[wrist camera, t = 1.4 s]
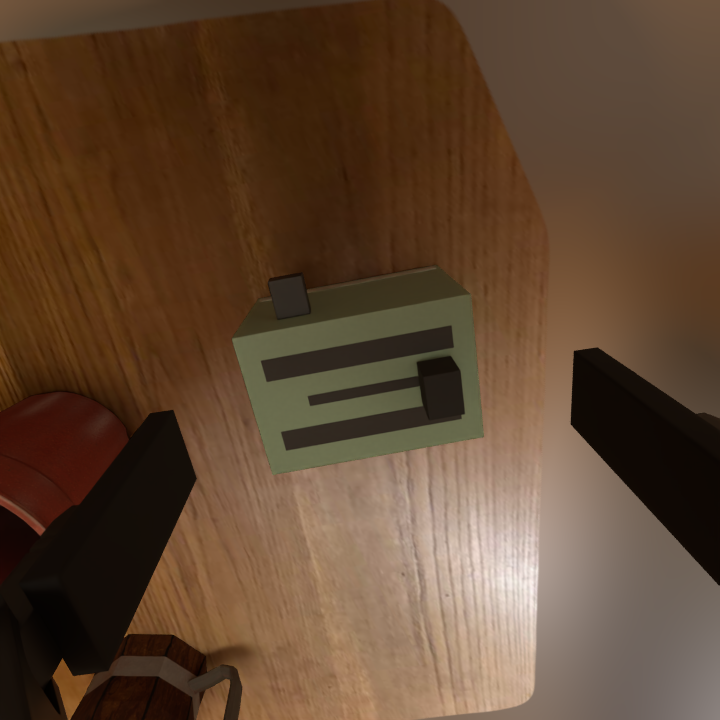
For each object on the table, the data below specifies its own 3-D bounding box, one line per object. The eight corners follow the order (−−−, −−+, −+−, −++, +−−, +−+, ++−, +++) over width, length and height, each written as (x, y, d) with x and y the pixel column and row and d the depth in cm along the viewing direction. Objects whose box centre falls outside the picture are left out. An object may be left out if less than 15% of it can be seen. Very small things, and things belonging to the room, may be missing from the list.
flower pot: (128, 355, 42) (11, 453, 27) (179, 500, 48) (106, 646, 33) (-49, 381, 42) (-264, 493, 27) (24, 523, 48) (-119, 678, 33)
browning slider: (451, 355, 31) (460, 370, 28) (455, 396, 32) (465, 414, 30) (416, 361, 31) (422, 377, 28) (422, 403, 32) (428, 421, 30)
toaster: (433, 232, 39) (467, 250, 29) (450, 377, 44) (484, 437, 34) (249, 267, 39) (218, 297, 29) (287, 407, 44) (272, 475, 34)
